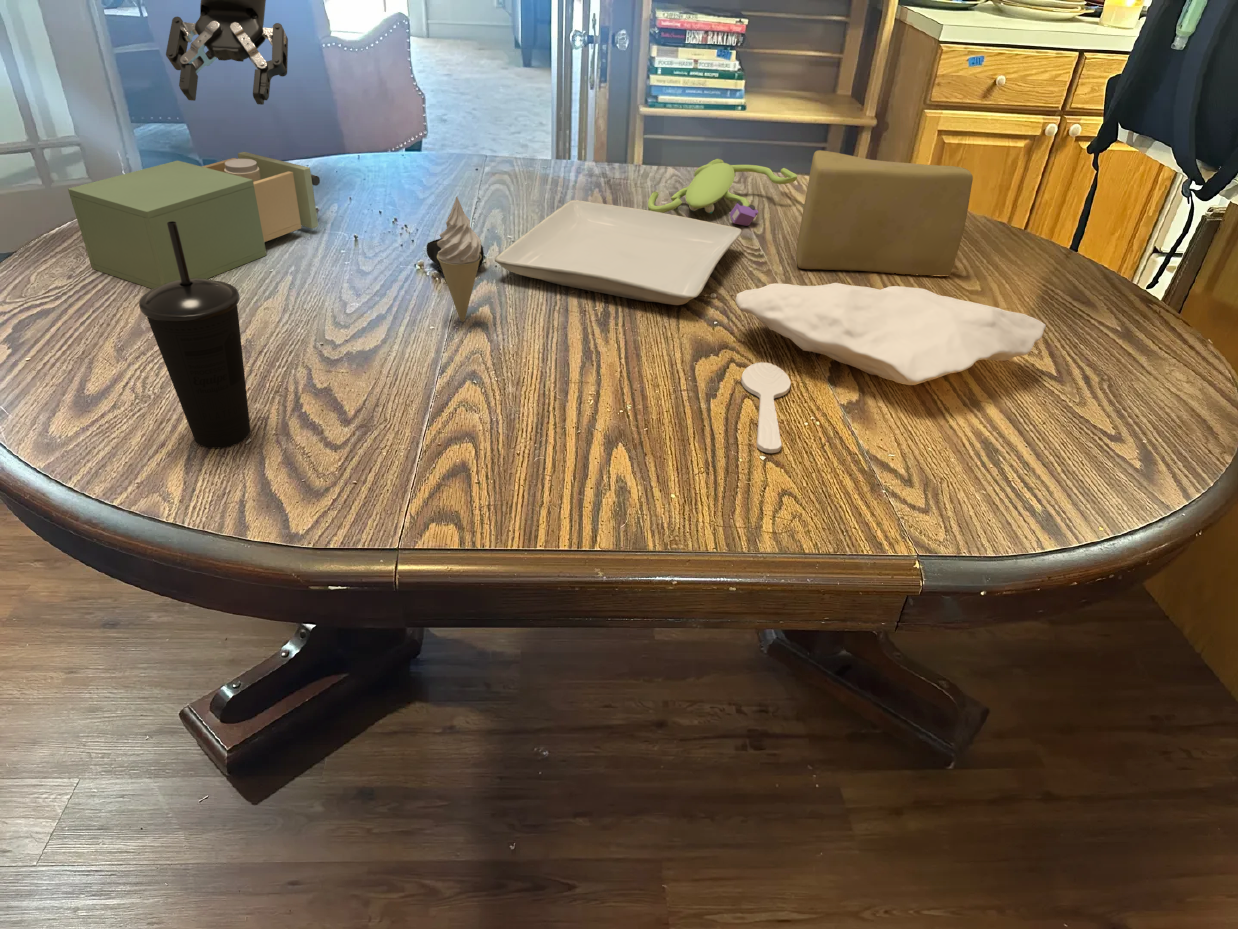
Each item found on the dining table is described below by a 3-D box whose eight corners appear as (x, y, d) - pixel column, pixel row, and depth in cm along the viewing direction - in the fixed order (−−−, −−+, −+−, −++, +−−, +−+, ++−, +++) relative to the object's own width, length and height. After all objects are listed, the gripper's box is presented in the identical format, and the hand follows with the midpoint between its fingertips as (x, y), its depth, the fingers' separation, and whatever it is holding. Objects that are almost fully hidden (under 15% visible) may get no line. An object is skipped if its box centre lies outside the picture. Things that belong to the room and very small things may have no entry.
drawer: (276, 201, 129) (266, 145, 125) (339, 218, 125) (331, 160, 120) (171, 236, 115) (156, 174, 111) (238, 257, 111) (225, 193, 106)
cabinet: (194, 234, 119) (177, 160, 113) (266, 255, 114) (253, 179, 109) (92, 268, 107) (67, 188, 102) (168, 294, 103) (146, 211, 97)
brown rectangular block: (944, 264, 127) (974, 161, 119) (954, 289, 119) (987, 181, 111) (795, 247, 129) (814, 144, 121) (795, 270, 121) (816, 163, 113)
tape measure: (425, 263, 116) (424, 236, 113) (474, 257, 118) (473, 230, 116) (441, 282, 111) (439, 254, 109) (491, 275, 113) (490, 248, 111)
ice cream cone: (451, 333, 99) (444, 205, 90) (434, 316, 102) (425, 191, 94) (491, 325, 101) (487, 199, 93) (472, 309, 104) (467, 186, 96)
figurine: (802, 197, 150) (808, 165, 147) (740, 238, 131) (745, 202, 128) (708, 176, 157) (712, 145, 154) (636, 212, 138) (639, 177, 135)
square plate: (570, 220, 133) (570, 195, 131) (740, 251, 126) (744, 225, 124) (492, 282, 112) (491, 253, 109) (692, 323, 105) (696, 293, 103)
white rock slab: (1069, 425, 87) (1099, 340, 83) (728, 382, 90) (741, 297, 86) (1003, 354, 108) (1025, 283, 104) (729, 321, 111) (739, 250, 107)
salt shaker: (227, 222, 118) (215, 163, 114) (252, 213, 121) (241, 156, 117) (251, 228, 117) (239, 169, 112) (275, 219, 120) (265, 161, 115)
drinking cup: (259, 406, 83) (216, 203, 72) (273, 446, 78) (230, 233, 67) (173, 422, 80) (114, 212, 69) (182, 464, 75) (120, 244, 63)
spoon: (741, 449, 82) (742, 445, 82) (741, 363, 97) (741, 358, 96) (797, 456, 82) (798, 451, 81) (788, 368, 96) (789, 364, 96)
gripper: (166, -40, 107) (152, 77, 104) (282, -32, 108) (271, 84, 105) (190, 3, 114) (178, 113, 111) (299, 10, 115) (290, 119, 113)
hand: (223, 98), depth 108 cm, fingers open, 8 cm apart
